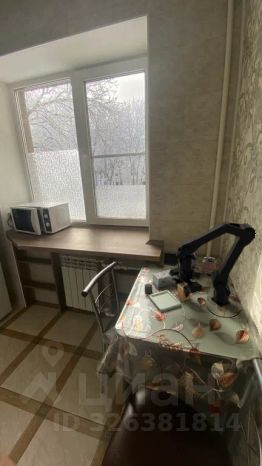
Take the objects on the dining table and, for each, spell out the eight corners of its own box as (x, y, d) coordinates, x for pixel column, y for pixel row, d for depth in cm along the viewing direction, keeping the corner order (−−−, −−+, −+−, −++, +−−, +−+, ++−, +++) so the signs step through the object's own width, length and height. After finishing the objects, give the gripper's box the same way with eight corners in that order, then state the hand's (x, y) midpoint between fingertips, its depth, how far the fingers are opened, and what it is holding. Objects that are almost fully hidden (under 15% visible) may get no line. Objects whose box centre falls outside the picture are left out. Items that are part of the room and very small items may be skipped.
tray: (181, 305, 98) (181, 303, 97) (160, 312, 94) (160, 309, 93) (167, 292, 108) (167, 289, 108) (148, 297, 104) (148, 295, 104)
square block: (190, 298, 103) (191, 286, 100) (182, 300, 101) (183, 288, 99) (184, 293, 107) (185, 281, 104) (177, 295, 105) (177, 283, 103)
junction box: (178, 283, 115) (179, 274, 113) (157, 289, 110) (157, 279, 108) (171, 277, 121) (171, 268, 119) (151, 282, 117) (151, 273, 115)
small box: (186, 265, 135) (187, 250, 132) (195, 268, 131) (196, 253, 127) (177, 271, 128) (177, 255, 125) (186, 275, 124) (187, 259, 120)
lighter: (215, 271, 127) (216, 256, 123) (215, 274, 124) (217, 259, 120) (201, 270, 129) (202, 255, 125) (201, 273, 125) (202, 258, 122)
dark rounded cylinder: (153, 293, 108) (153, 286, 106) (146, 295, 106) (146, 288, 105) (150, 289, 111) (150, 282, 110) (143, 291, 110) (143, 284, 108)
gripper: (213, 271, 93) (210, 301, 98) (187, 255, 109) (185, 281, 114) (192, 277, 89) (190, 307, 94) (169, 259, 105) (168, 286, 111)
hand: (183, 294), depth 103 cm, fingers closed on square block, 4 cm apart
